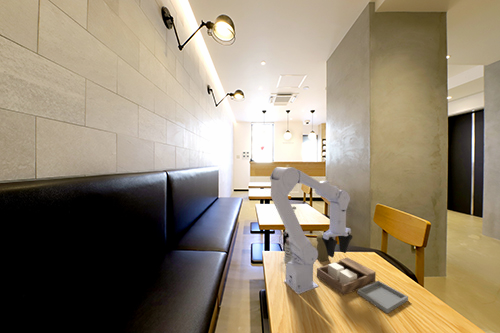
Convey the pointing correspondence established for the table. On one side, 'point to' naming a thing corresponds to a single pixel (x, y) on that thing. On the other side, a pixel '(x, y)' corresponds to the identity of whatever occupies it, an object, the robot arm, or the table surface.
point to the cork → (321, 249)
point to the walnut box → (363, 273)
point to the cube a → (335, 270)
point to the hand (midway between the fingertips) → (336, 254)
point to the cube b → (347, 276)
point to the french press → (287, 247)
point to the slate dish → (382, 296)
